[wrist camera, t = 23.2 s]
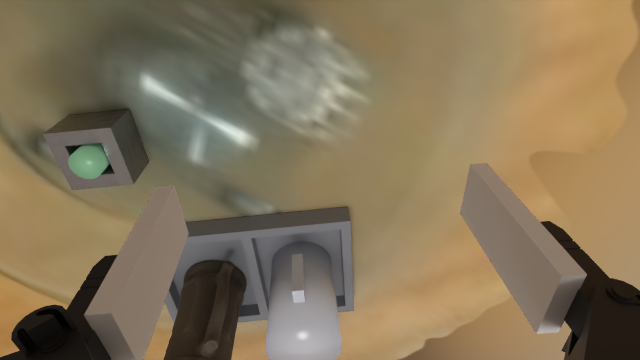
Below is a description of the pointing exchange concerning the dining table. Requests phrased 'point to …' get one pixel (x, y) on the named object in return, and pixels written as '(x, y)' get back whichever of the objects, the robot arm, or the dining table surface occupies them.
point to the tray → (266, 252)
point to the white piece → (302, 305)
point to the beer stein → (207, 312)
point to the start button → (89, 161)
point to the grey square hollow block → (115, 137)
